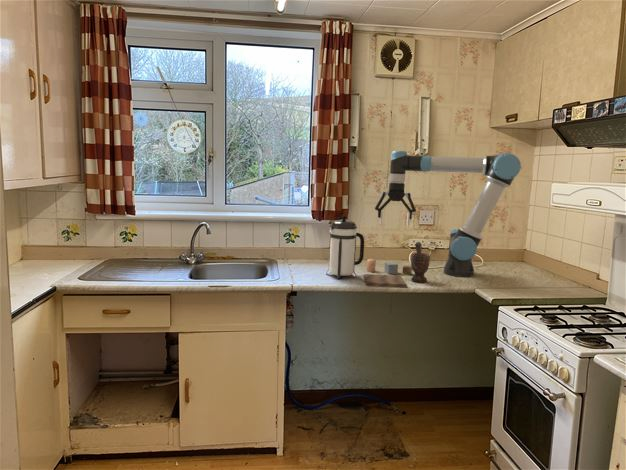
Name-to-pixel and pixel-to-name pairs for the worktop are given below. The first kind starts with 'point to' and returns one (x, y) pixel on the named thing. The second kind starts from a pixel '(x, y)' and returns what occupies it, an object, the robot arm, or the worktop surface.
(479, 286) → the worktop surface
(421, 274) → the mortar and pestle
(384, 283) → the walnut board
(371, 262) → the terracotta capsule
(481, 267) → the worktop surface
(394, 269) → the slate grey cube
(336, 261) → the coffee press
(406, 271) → the dark oak block
